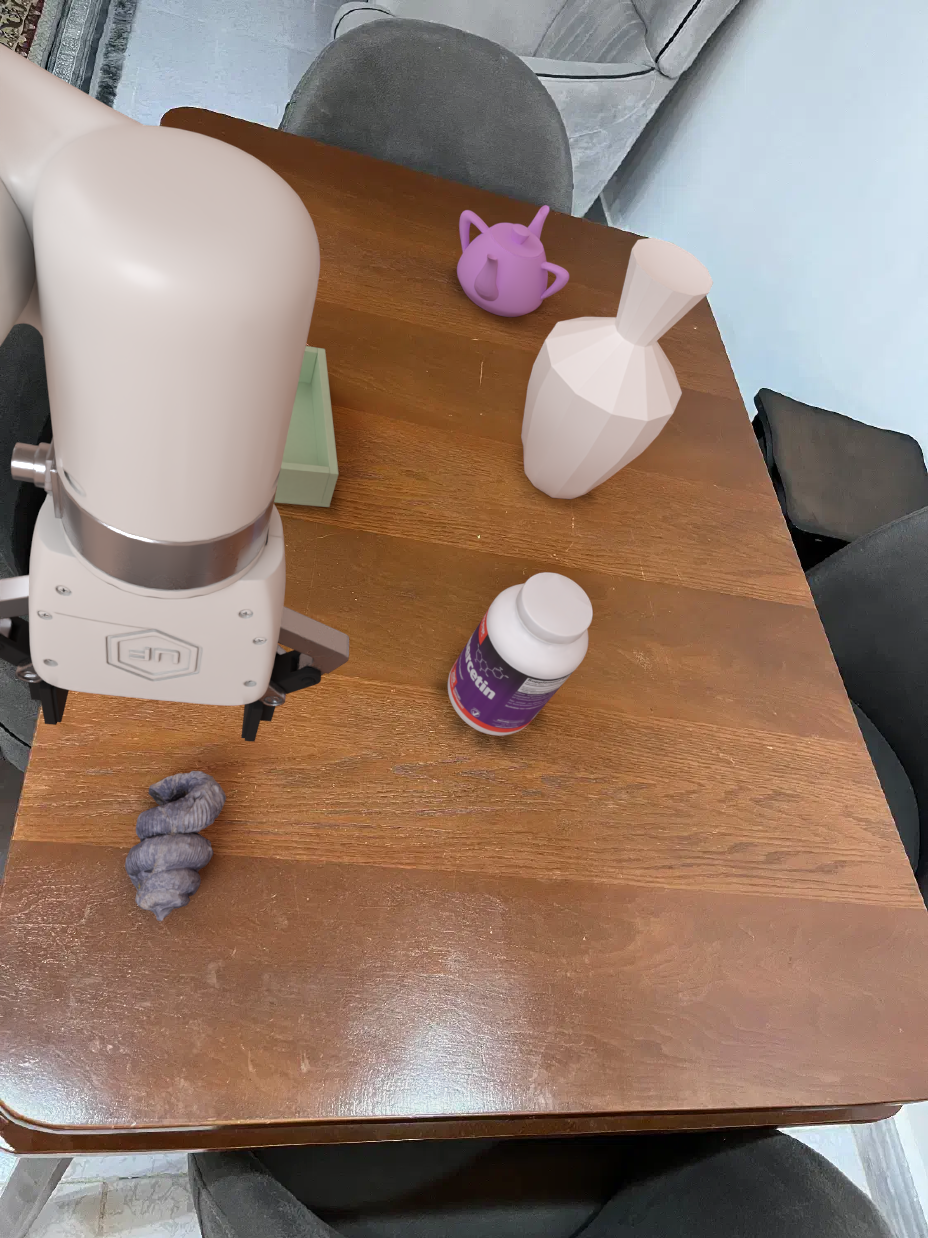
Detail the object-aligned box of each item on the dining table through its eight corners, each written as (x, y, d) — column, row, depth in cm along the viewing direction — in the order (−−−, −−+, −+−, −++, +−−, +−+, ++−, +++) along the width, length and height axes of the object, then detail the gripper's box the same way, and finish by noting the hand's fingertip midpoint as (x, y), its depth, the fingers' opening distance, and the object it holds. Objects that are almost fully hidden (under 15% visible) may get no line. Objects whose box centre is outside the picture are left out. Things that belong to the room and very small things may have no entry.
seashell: (177, 788, 60) (155, 935, 54) (128, 761, 56) (98, 917, 50) (243, 776, 58) (226, 925, 53) (197, 747, 54) (174, 906, 49)
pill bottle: (434, 658, 72) (491, 556, 60) (519, 654, 75) (588, 556, 63) (456, 745, 68) (522, 652, 56) (544, 737, 71) (623, 648, 59)
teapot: (464, 321, 100) (489, 255, 93) (440, 249, 107) (461, 183, 100) (552, 332, 105) (582, 271, 98) (524, 263, 112) (550, 201, 105)
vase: (613, 537, 87) (752, 345, 68) (485, 492, 85) (591, 279, 65) (618, 447, 96) (742, 254, 76) (502, 404, 94) (600, 193, 74)
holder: (173, 493, 72) (175, 457, 69) (177, 363, 81) (179, 325, 78) (329, 507, 77) (338, 474, 74) (317, 383, 86) (325, 348, 82)
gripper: (-132, 536, 27) (-45, 760, 40) (396, 608, 32) (317, 786, 45) (-63, 379, 31) (-5, 629, 44) (393, 464, 36) (322, 666, 49)
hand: (157, 708), depth 45 cm, fingers open, 9 cm apart
